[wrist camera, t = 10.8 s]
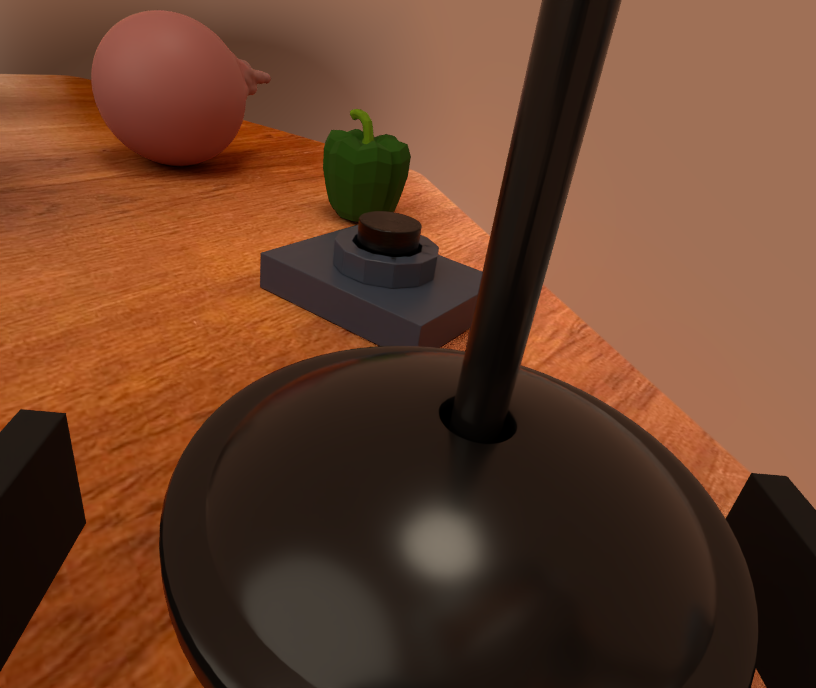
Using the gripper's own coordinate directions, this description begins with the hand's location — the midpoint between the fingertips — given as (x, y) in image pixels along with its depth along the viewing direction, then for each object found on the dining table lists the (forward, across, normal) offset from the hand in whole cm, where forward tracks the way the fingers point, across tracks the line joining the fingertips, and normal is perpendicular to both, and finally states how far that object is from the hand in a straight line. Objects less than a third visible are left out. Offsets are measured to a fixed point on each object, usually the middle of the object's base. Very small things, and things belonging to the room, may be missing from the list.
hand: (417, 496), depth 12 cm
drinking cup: (-3, 0, -11) cm, 11 cm away
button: (+31, 0, -7) cm, 32 cm away
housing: (+31, 0, -11) cm, 33 cm away
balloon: (+63, -22, -11) cm, 67 cm away
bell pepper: (+51, -2, -11) cm, 52 cm away
